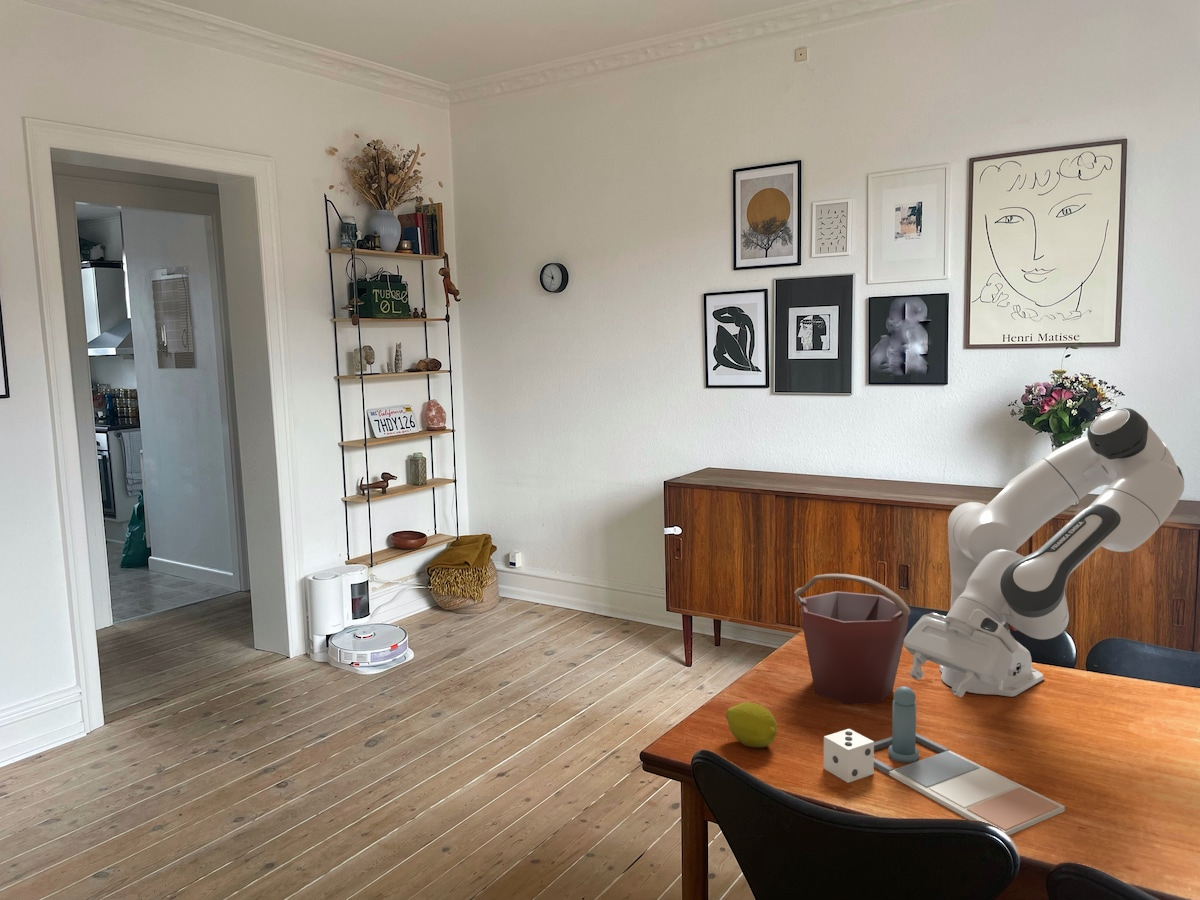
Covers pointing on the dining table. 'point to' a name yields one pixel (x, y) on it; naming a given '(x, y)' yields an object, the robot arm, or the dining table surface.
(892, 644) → the bucket
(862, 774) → the die
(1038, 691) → the dining table surface
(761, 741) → the lemon
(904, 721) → the pawn
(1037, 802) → the game board
